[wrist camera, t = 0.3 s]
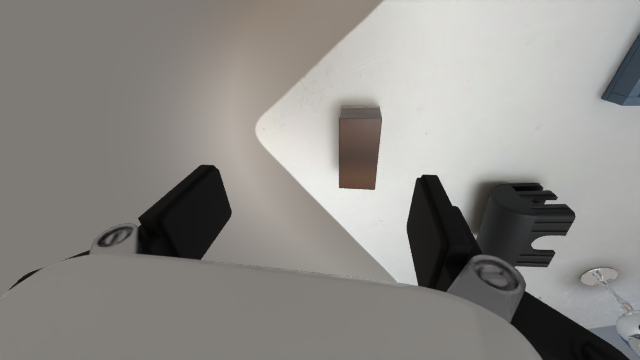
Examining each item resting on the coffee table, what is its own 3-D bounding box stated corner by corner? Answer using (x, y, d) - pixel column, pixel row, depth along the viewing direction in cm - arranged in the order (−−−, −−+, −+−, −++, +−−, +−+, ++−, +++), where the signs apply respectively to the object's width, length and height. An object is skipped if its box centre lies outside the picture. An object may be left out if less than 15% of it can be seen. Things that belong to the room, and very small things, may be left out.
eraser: (342, 105, 29) (339, 118, 25) (379, 105, 28) (382, 118, 24) (341, 169, 34) (338, 188, 30) (373, 171, 33) (374, 190, 29)
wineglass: (578, 266, 37) (657, 357, 27) (627, 262, 35) (732, 357, 25) (572, 288, 39) (642, 378, 29) (618, 286, 38) (709, 380, 28)
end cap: (479, 181, 31) (505, 215, 26) (542, 179, 30) (583, 215, 24) (465, 235, 37) (484, 273, 31) (518, 236, 35) (547, 276, 30)
